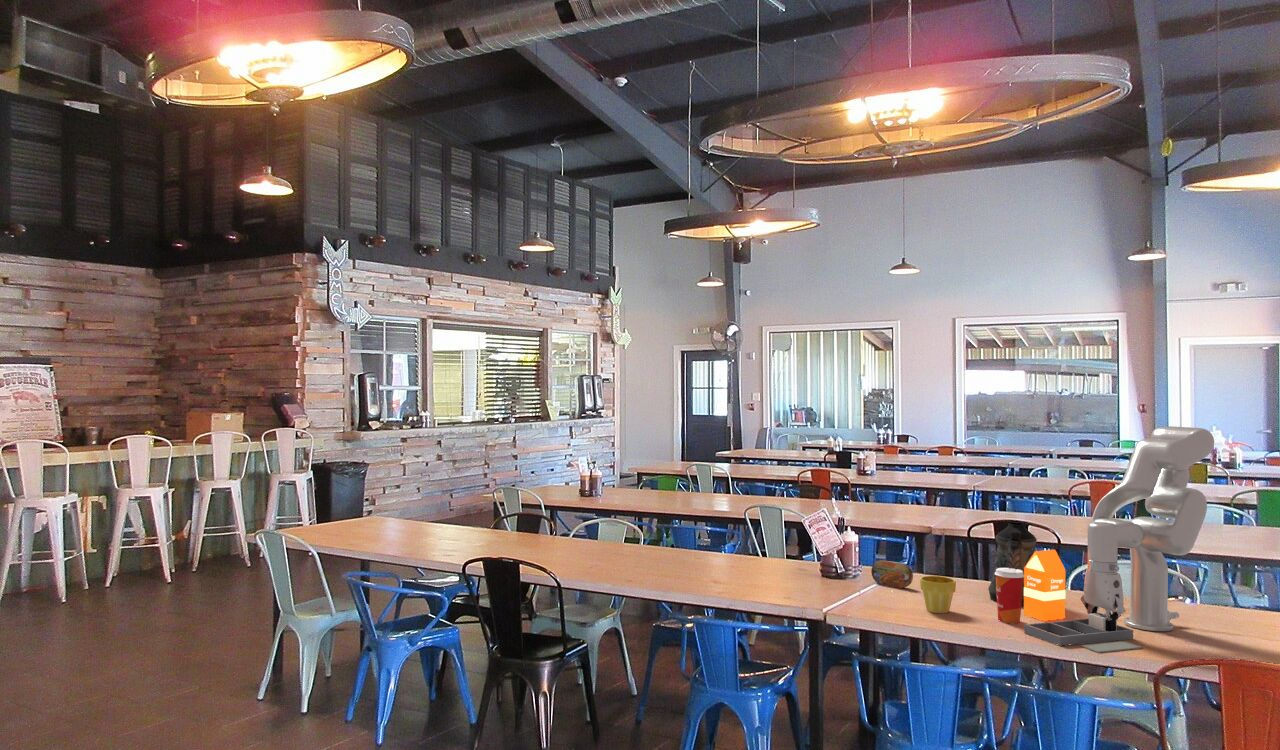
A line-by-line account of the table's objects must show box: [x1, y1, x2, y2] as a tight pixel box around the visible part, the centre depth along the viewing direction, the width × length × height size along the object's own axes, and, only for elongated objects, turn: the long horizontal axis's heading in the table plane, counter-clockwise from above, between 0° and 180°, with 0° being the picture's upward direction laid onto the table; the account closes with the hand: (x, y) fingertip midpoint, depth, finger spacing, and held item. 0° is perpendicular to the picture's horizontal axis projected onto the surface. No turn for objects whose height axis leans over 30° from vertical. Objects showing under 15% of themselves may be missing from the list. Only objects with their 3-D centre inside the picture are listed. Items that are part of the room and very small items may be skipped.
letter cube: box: [1088, 612, 1118, 631], centre depth 256 cm, size 5×5×5 cm
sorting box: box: [1024, 618, 1134, 647], centre depth 253 cm, size 25×13×2 cm, turn 109°
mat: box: [1079, 640, 1143, 654], centre depth 242 cm, size 15×6×1 cm, turn 109°
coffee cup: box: [995, 568, 1025, 624], centre depth 268 cm, size 8×8×15 cm
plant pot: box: [919, 575, 957, 614], centre depth 279 cm, size 10×10×10 cm
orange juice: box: [1023, 549, 1066, 622], centre depth 274 cm, size 8×9×20 cm
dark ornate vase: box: [987, 522, 1038, 607], centre depth 293 cm, size 16×19×25 cm
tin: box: [870, 559, 914, 589], centre depth 314 cm, size 15×3×8 cm, turn 43°
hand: (1102, 630), depth 256 cm, fingers closed on letter cube, 5 cm apart
